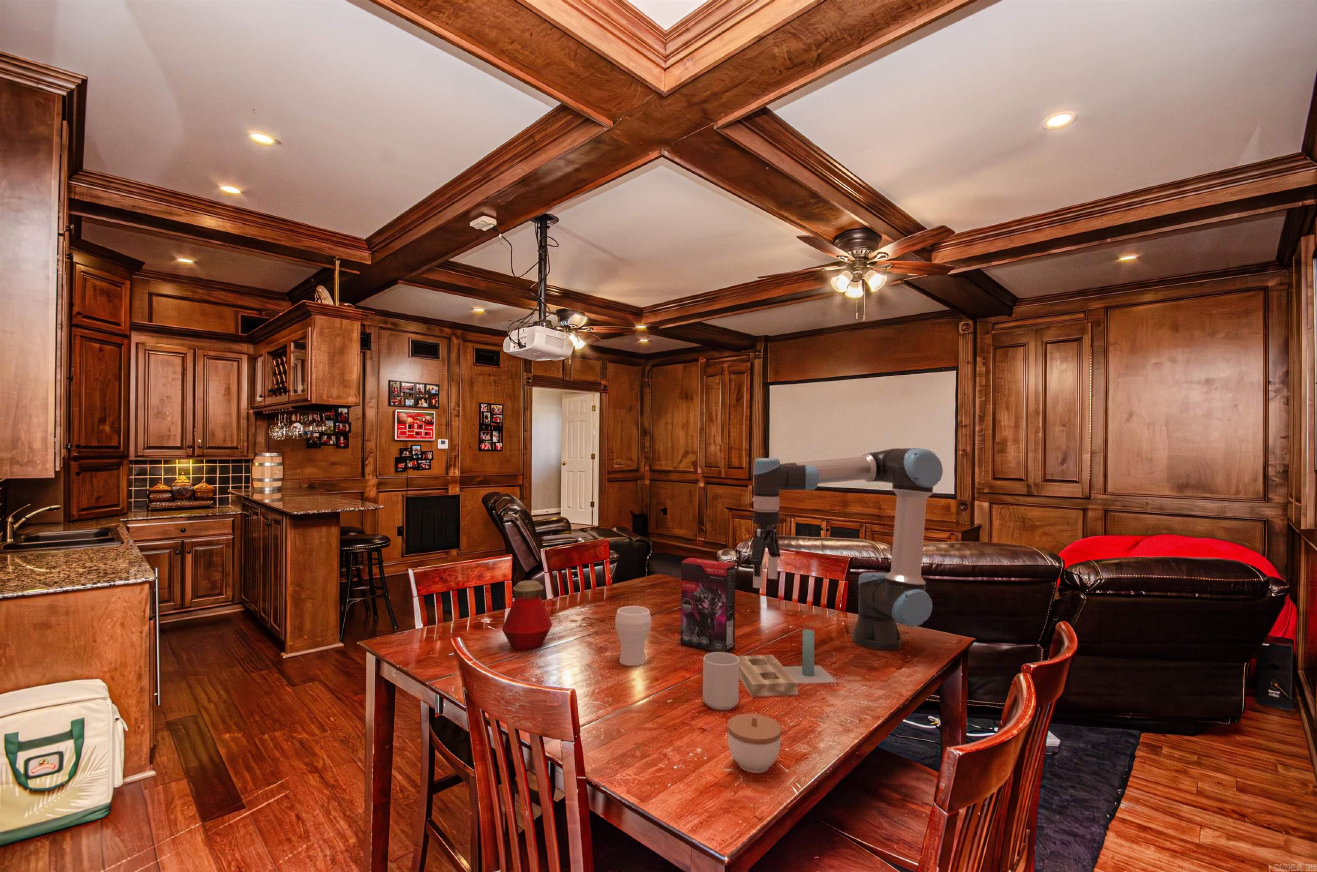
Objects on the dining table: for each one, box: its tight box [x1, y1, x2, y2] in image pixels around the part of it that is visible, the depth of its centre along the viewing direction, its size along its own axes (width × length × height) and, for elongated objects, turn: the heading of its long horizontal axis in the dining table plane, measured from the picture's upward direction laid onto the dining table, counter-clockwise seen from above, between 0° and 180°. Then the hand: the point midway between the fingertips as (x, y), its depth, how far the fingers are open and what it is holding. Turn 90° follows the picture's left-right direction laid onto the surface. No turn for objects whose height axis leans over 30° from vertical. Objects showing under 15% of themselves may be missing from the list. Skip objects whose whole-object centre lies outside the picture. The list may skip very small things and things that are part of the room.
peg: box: [801, 628, 815, 676], centre depth 161 cm, size 3×3×12 cm
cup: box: [614, 605, 652, 667], centre depth 170 cm, size 11×11×15 cm
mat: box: [783, 665, 838, 685], centre depth 161 cm, size 12×12×1 cm
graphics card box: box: [679, 557, 737, 653], centre depth 183 cm, size 17×7×27 cm, turn 57°
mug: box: [702, 652, 740, 711], centre depth 144 cm, size 12×9×11 cm
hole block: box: [736, 654, 799, 699], centre depth 156 cm, size 12×20×4 cm, turn 8°
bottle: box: [501, 580, 553, 651], centre depth 182 cm, size 16×14×20 cm
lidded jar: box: [726, 713, 783, 774], centre depth 115 cm, size 11×11×9 cm
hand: (765, 583), depth 168 cm, fingers open, 13 cm apart
